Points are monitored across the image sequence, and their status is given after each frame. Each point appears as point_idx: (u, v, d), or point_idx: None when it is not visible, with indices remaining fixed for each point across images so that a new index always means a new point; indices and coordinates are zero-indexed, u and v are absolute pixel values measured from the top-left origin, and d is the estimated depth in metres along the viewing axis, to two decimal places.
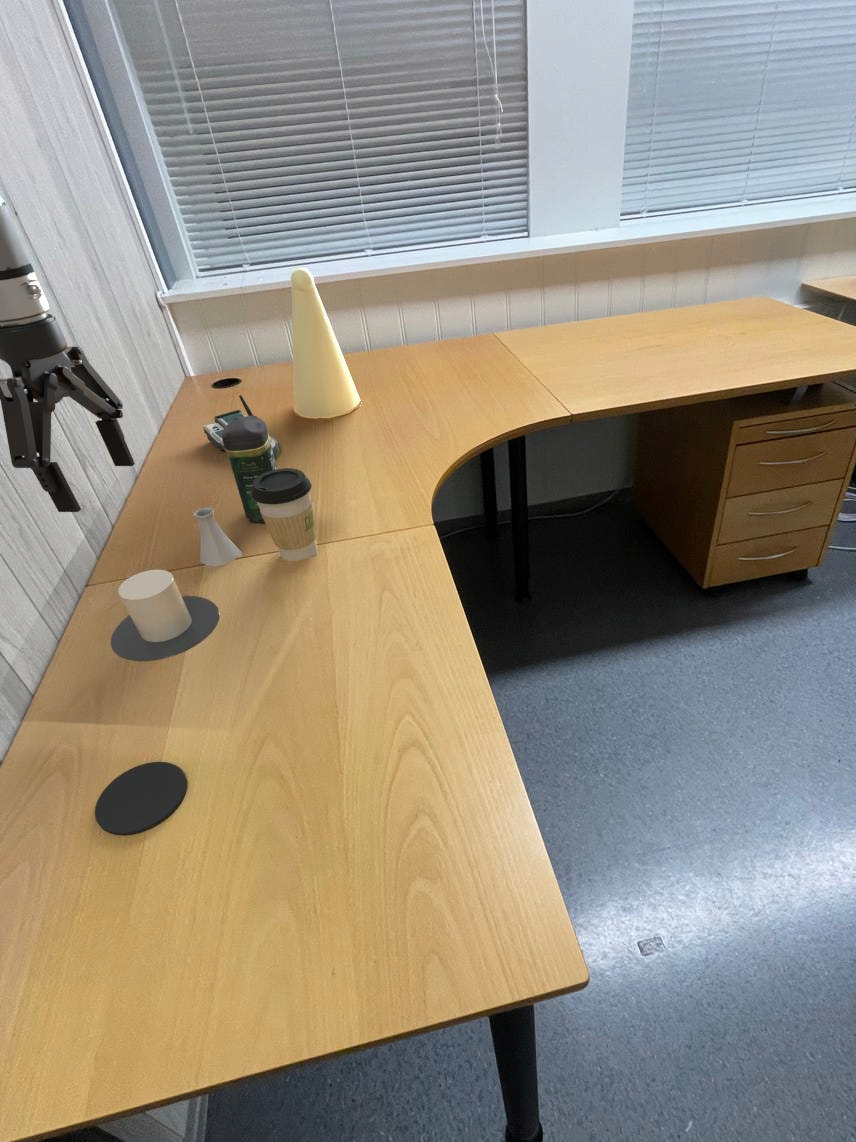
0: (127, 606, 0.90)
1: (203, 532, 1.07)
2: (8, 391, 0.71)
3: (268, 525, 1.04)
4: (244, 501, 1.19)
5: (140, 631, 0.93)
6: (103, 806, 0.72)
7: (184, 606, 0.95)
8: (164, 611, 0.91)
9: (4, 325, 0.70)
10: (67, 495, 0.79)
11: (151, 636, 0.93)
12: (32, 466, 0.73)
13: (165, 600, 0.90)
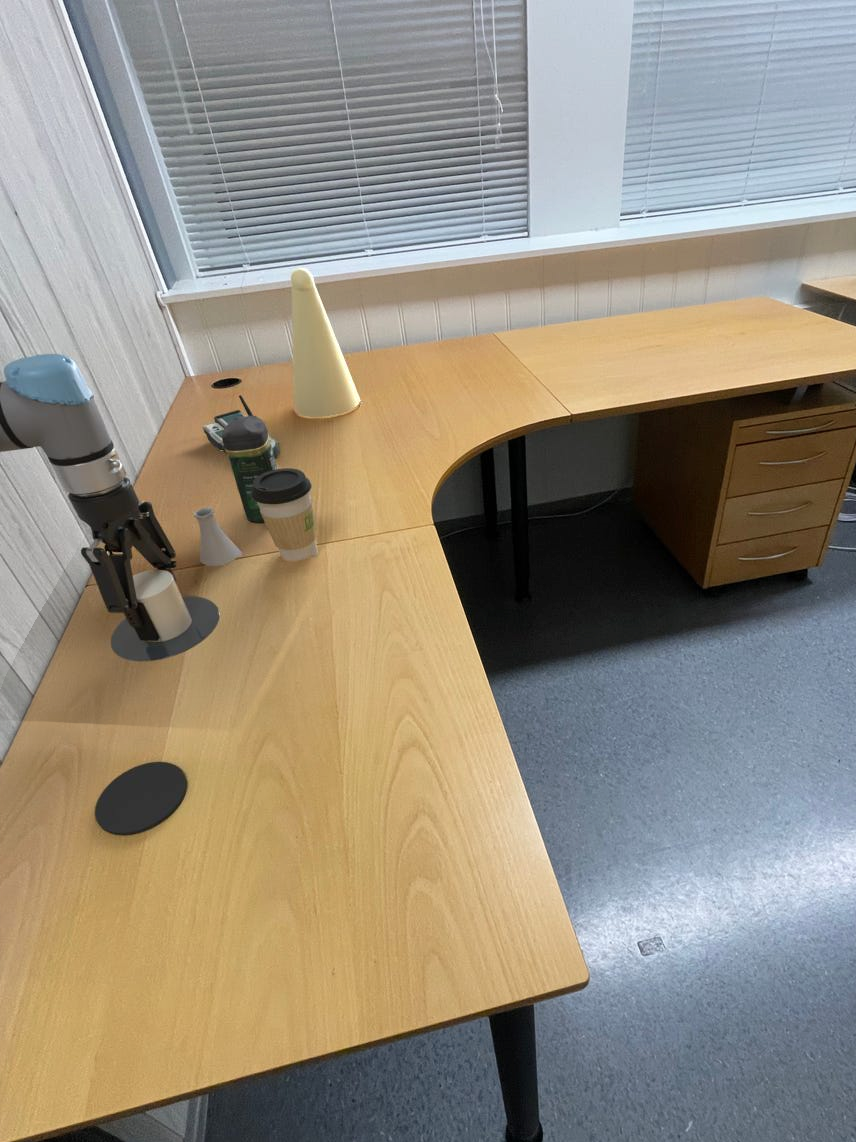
0: None
1: (203, 532, 1.07)
2: (95, 559, 0.80)
3: (268, 525, 1.04)
4: (244, 501, 1.19)
5: None
6: (103, 806, 0.72)
7: (184, 606, 0.95)
8: (164, 611, 0.91)
9: (88, 496, 0.78)
10: (149, 628, 0.91)
11: None
12: (125, 612, 0.85)
13: (165, 600, 0.90)
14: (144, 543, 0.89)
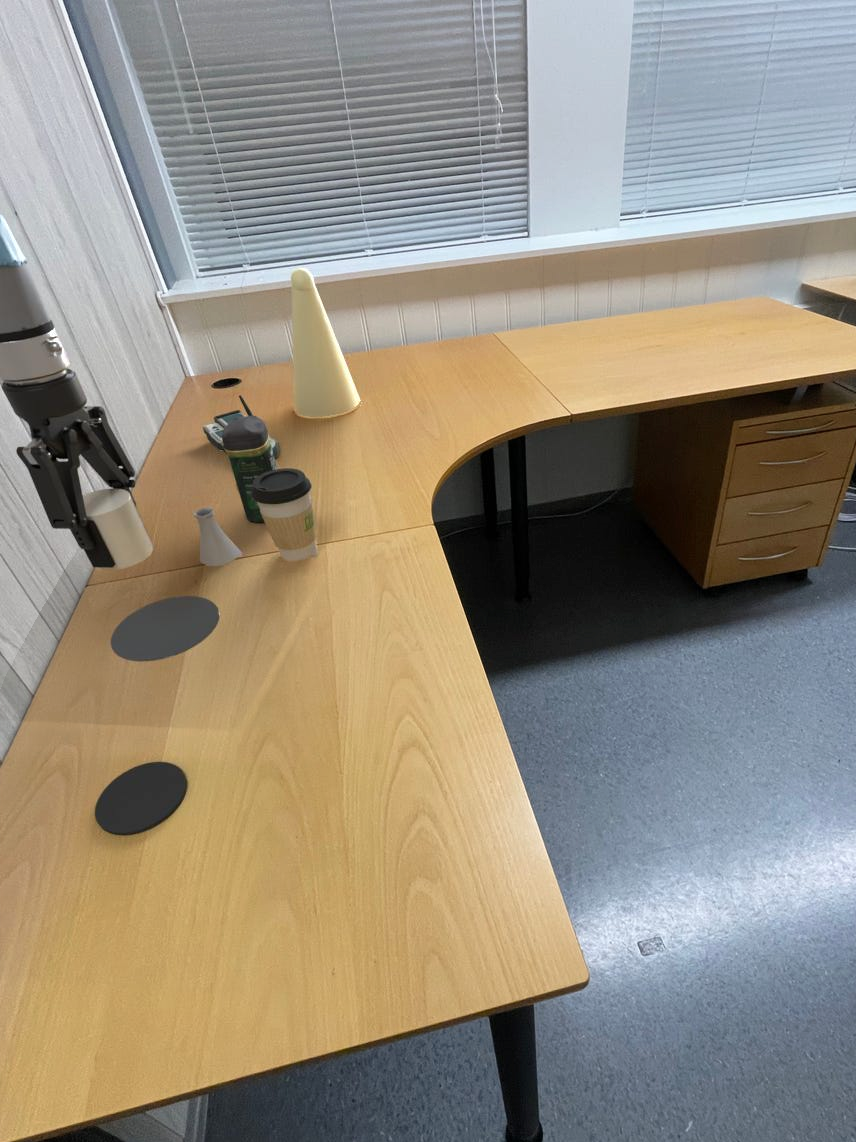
0: None
1: (203, 532, 1.07)
2: (34, 460, 0.69)
3: (268, 525, 1.04)
4: (244, 501, 1.19)
5: None
6: (103, 806, 0.72)
7: (144, 531, 0.84)
8: (119, 533, 0.80)
9: (23, 384, 0.67)
10: (102, 551, 0.79)
11: None
12: (72, 528, 0.74)
13: (121, 520, 0.79)
14: (95, 453, 0.78)
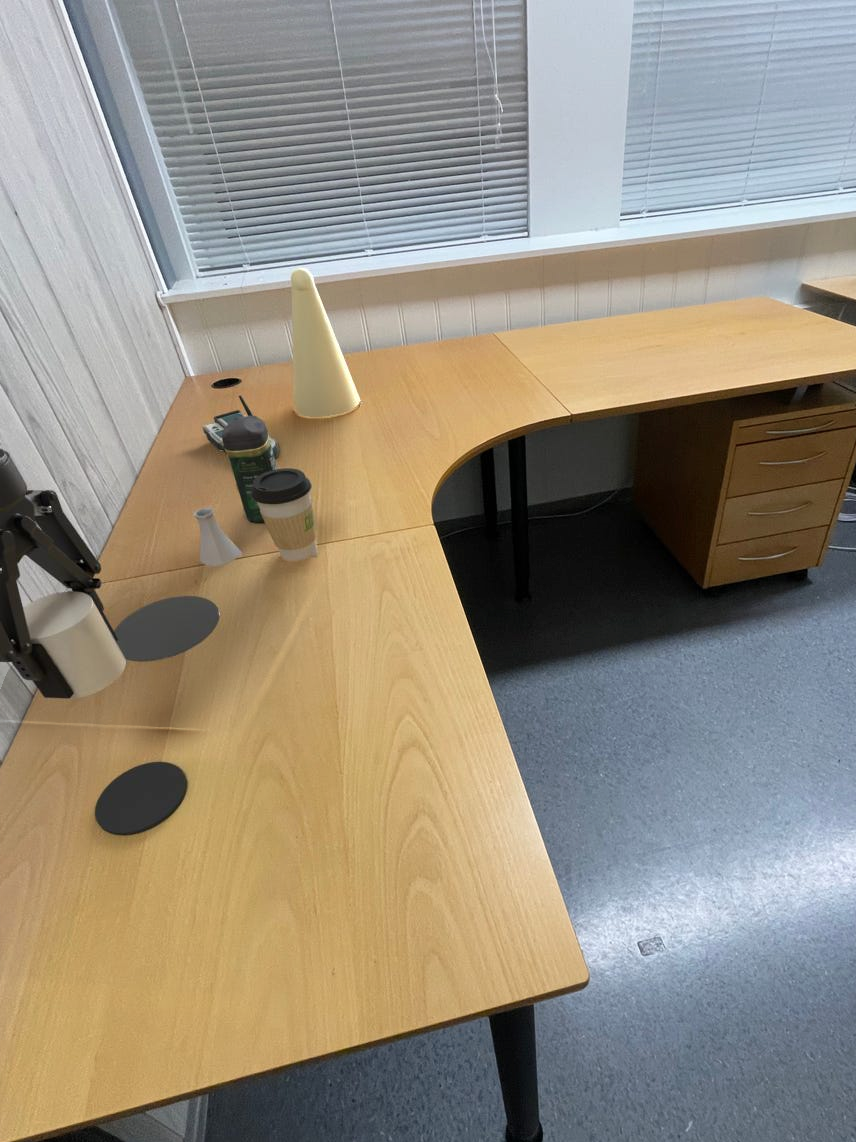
0: None
1: (203, 532, 1.07)
2: None
3: (268, 525, 1.04)
4: (244, 501, 1.19)
5: None
6: (103, 806, 0.72)
7: (113, 645, 0.64)
8: (78, 655, 0.60)
9: None
10: (55, 681, 0.60)
11: None
12: (9, 661, 0.55)
13: (79, 639, 0.60)
14: (44, 553, 0.59)
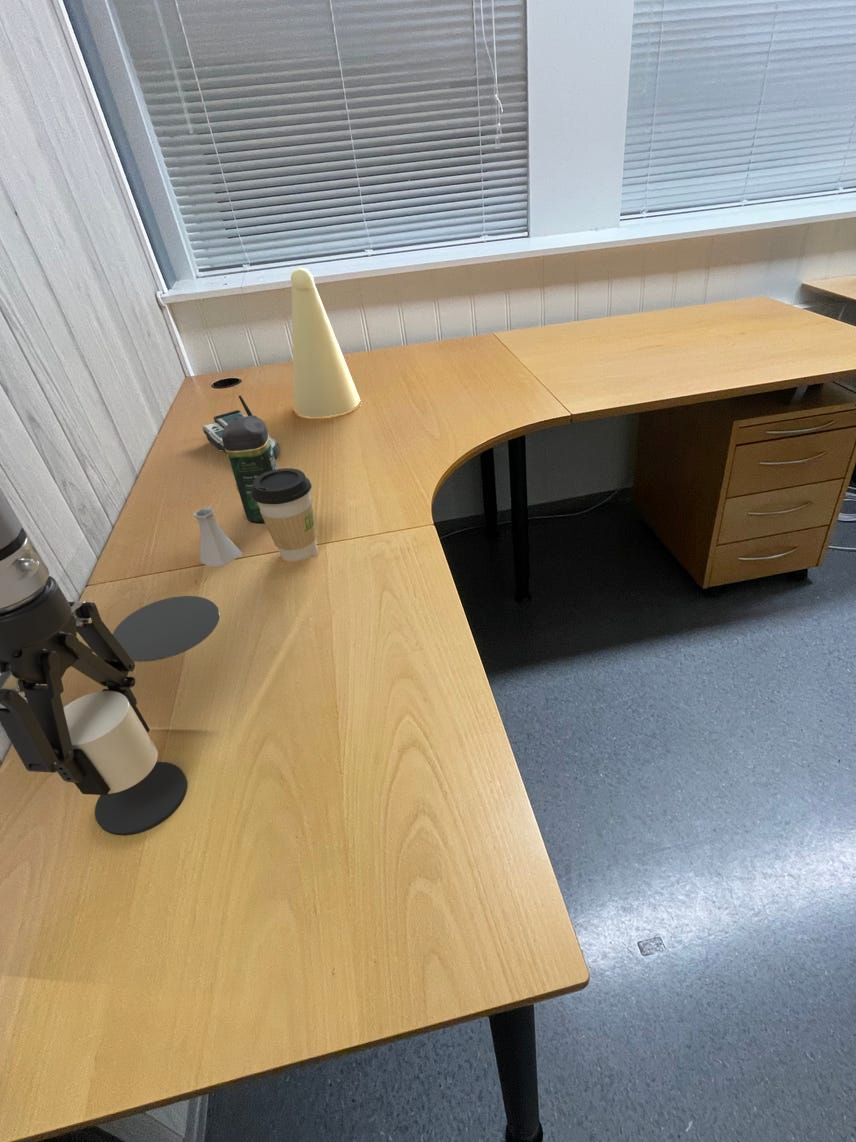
0: None
1: (203, 532, 1.07)
2: (1, 705, 0.53)
3: (268, 525, 1.04)
4: (244, 501, 1.19)
5: None
6: (103, 806, 0.72)
7: (146, 740, 0.68)
8: (115, 756, 0.64)
9: None
10: (94, 781, 0.63)
11: None
12: (53, 772, 0.58)
13: (116, 741, 0.63)
14: (84, 662, 0.62)
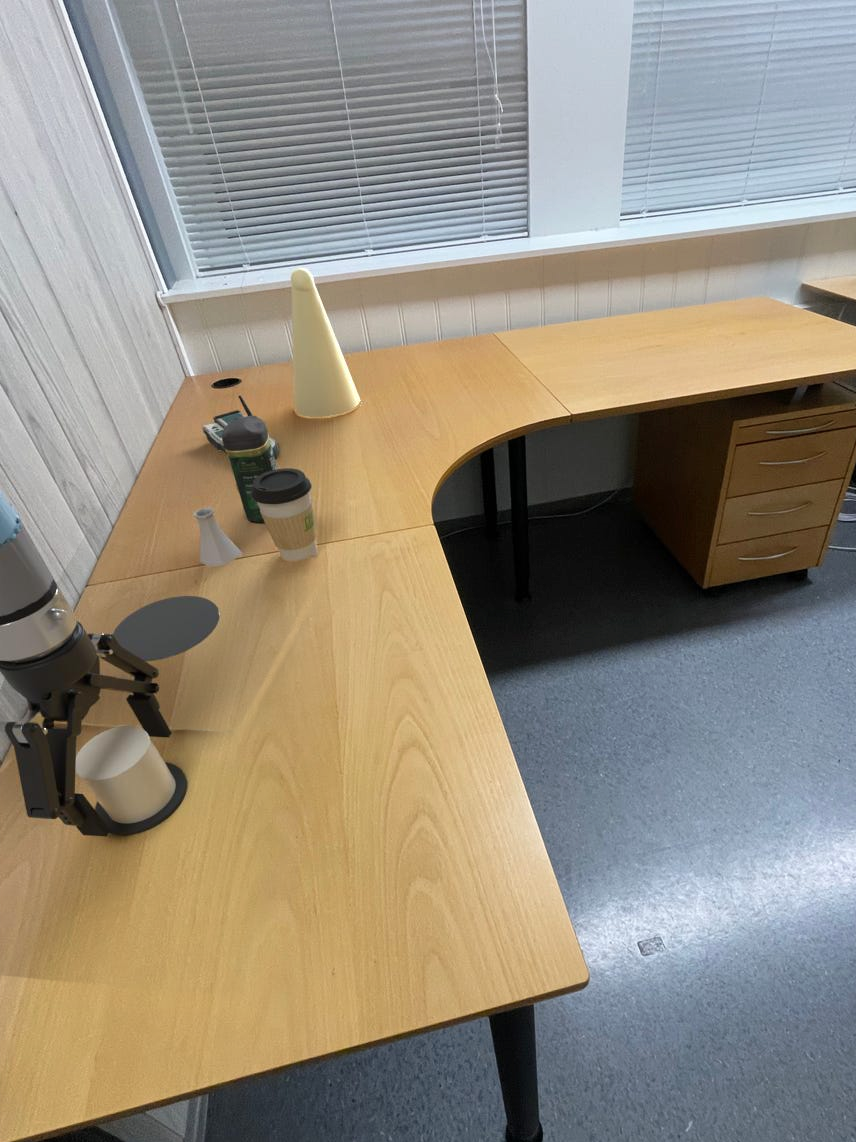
0: (86, 785, 0.66)
1: (203, 532, 1.07)
2: (24, 738, 0.56)
3: (268, 525, 1.04)
4: (244, 501, 1.19)
5: (106, 810, 0.69)
6: None
7: (165, 772, 0.71)
8: (136, 789, 0.67)
9: (19, 661, 0.55)
10: (94, 823, 0.64)
11: (121, 818, 0.69)
12: (53, 818, 0.58)
13: (138, 775, 0.67)
14: (111, 688, 0.66)
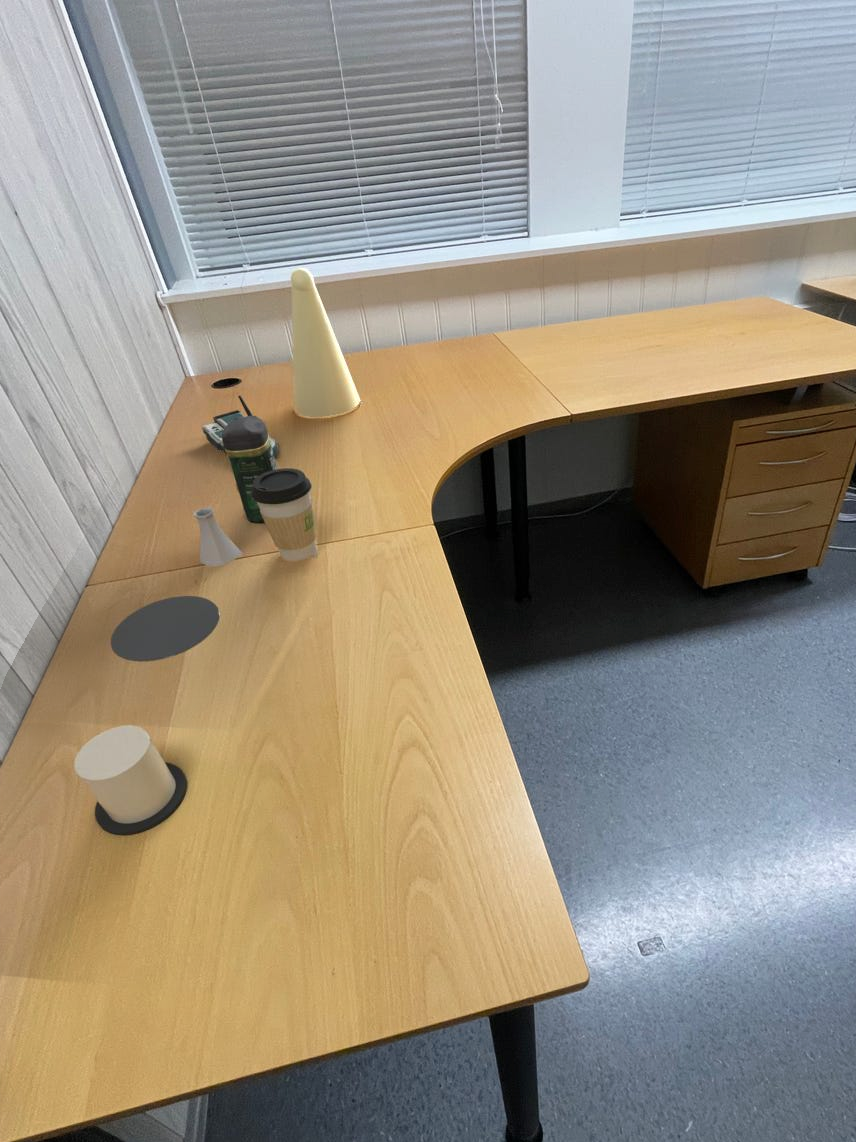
0: (86, 785, 0.66)
1: (203, 532, 1.07)
2: None
3: (268, 525, 1.04)
4: (244, 501, 1.19)
5: (106, 810, 0.69)
6: None
7: (165, 772, 0.71)
8: (136, 789, 0.67)
9: None
10: None
11: (121, 818, 0.69)
12: None
13: (138, 775, 0.67)
14: None
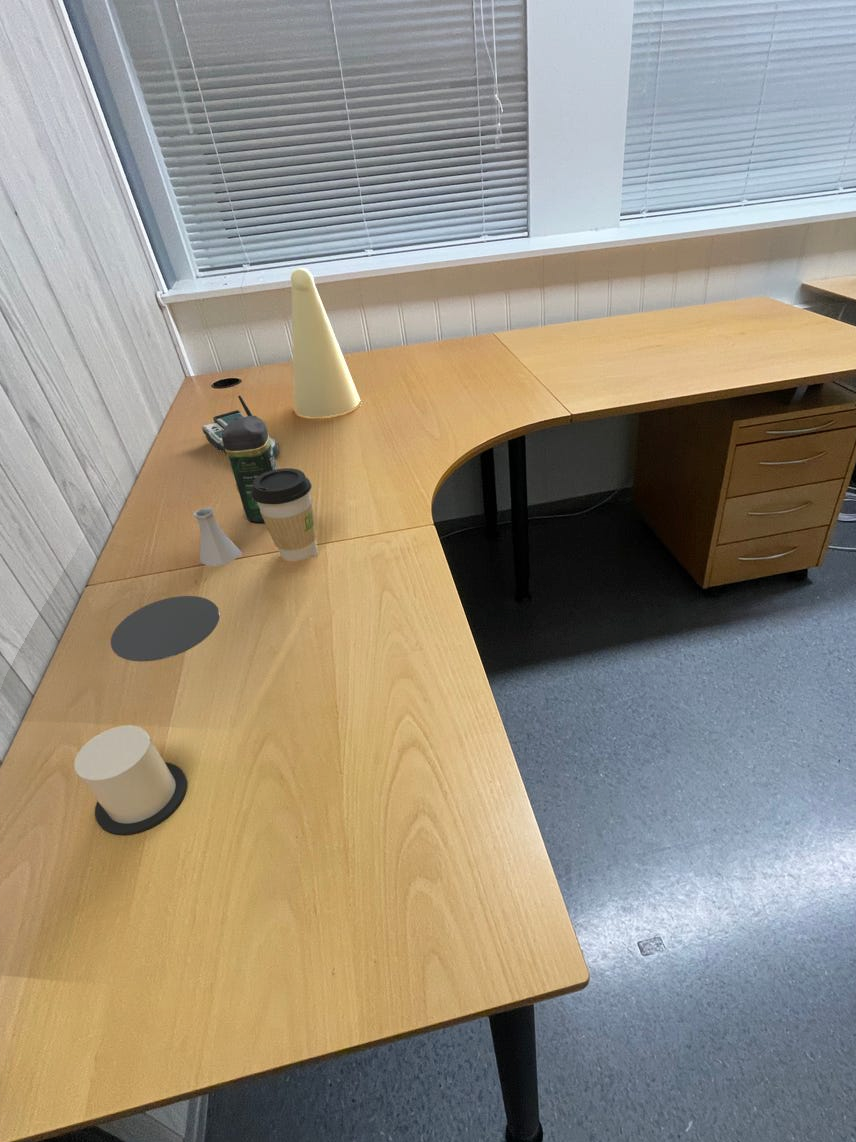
0: (86, 785, 0.66)
1: (203, 532, 1.07)
2: None
3: (268, 525, 1.04)
4: (244, 501, 1.19)
5: (106, 810, 0.69)
6: None
7: (165, 772, 0.71)
8: (136, 789, 0.67)
9: None
10: None
11: (121, 818, 0.69)
12: None
13: (138, 775, 0.67)
14: None
